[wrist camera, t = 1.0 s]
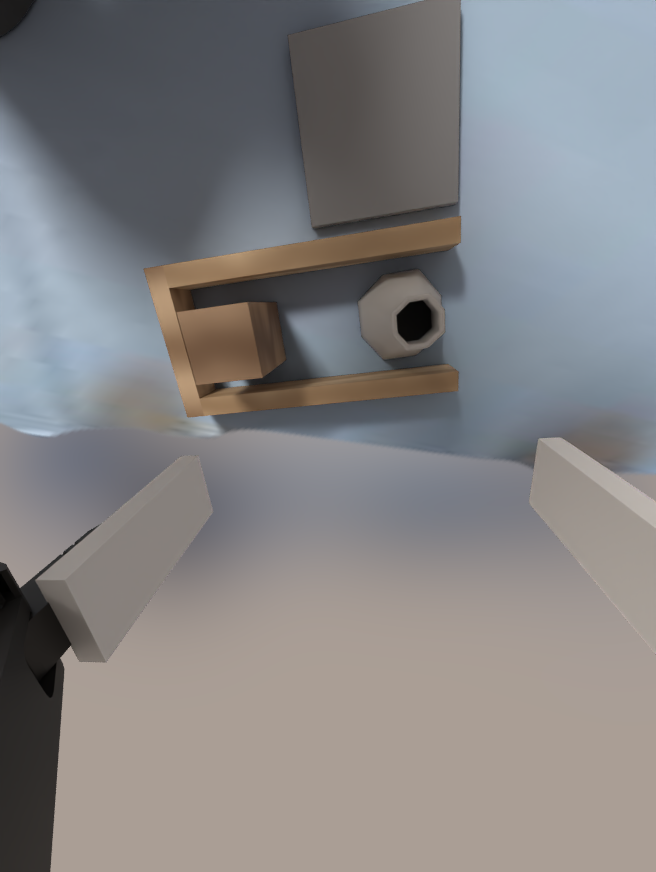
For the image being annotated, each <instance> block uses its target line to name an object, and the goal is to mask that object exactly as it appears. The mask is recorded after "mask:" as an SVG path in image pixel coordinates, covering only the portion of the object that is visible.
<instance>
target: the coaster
mask: <svg viewBox="0 0 656 872" xmlns="http://www.w3.org/2000/svg"><path fill="white" fill-rule="evenodd" d="M460 15H461V0H424V1H420V2H416V3H412V4H408V5H405V6H401V7H397V8H393V9H389V10H385V11H381V12H377V13H373V14H369V15H365V16H361V17H357V18H353V19H349V20H345V21H341V22H337V23H333V24H329V25H326V26H322V27H318V28H314V29H310V30H306V31H302V32H298V33H294V34H290V35H288V42H289V50H290V58H291V66H292V74H293V82H294V90H295V98H296V106H297V114H298V122H299V130H300V138H301V145H302V153H303V161H304V169H305V177H306V185H307V193H308V201H309V209H310V217H311V225H312V228H313V229H315V228H321V227H327V226H333V225H339V224H345V223H350V222H356V221H362V220H368V219H374V218H380V217H386V216H392V215H397V214H403V213H409V212H415V211H421V210H427V209H433V208H438V207H444V206H450V205H455V204H456V203H457V202H458V172H459V94H460Z"/></svg>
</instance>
